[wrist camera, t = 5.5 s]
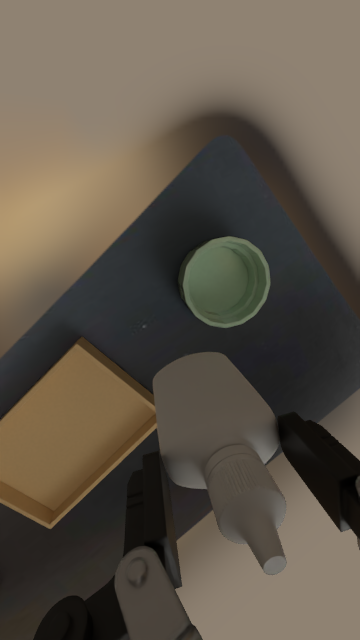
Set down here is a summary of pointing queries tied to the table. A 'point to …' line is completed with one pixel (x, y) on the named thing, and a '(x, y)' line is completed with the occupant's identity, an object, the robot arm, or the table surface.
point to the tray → (70, 433)
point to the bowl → (224, 281)
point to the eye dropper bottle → (223, 448)
